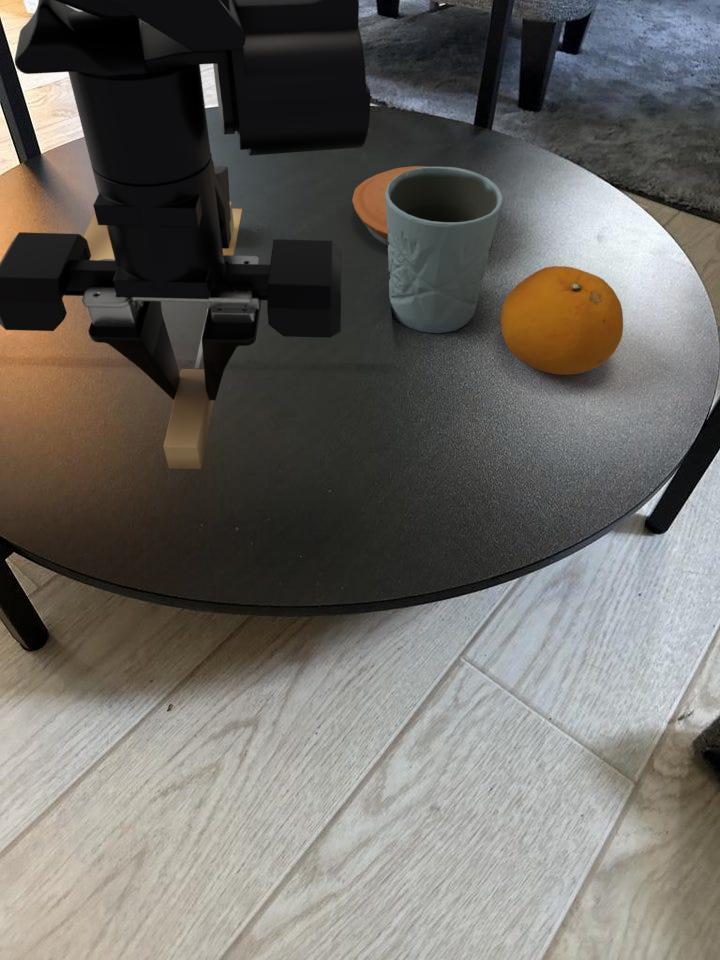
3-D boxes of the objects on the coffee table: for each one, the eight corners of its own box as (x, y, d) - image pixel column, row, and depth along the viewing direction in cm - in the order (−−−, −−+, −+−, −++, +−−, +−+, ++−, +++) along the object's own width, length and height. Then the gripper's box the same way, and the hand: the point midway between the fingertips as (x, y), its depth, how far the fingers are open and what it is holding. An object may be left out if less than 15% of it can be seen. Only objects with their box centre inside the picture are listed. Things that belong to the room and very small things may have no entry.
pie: (447, 288, 75) (454, 245, 71) (324, 239, 80) (324, 196, 77) (514, 225, 84) (523, 183, 80) (398, 184, 89) (402, 143, 85)
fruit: (573, 410, 64) (599, 336, 58) (474, 356, 68) (488, 282, 62) (629, 353, 69) (658, 280, 63) (533, 307, 73) (552, 234, 67)
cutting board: (73, 276, 74) (70, 265, 74) (100, 214, 82) (97, 204, 81) (232, 279, 75) (230, 269, 74) (243, 218, 83) (242, 208, 82)
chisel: (201, 469, 45) (197, 447, 43) (168, 469, 45) (162, 446, 43) (232, 302, 56) (229, 280, 54) (205, 302, 56) (202, 279, 54)
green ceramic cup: (502, 312, 73) (526, 197, 64) (429, 353, 68) (445, 236, 59) (430, 267, 78) (443, 154, 68) (358, 302, 73) (361, 187, 64)
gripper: (344, 95, 41) (341, 322, 53) (9, 85, 41) (80, 316, 53) (342, 194, 34) (339, 432, 46) (-67, 183, 33) (36, 426, 45)
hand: (195, 395), depth 47 cm, fingers closed on chisel, 2 cm apart
